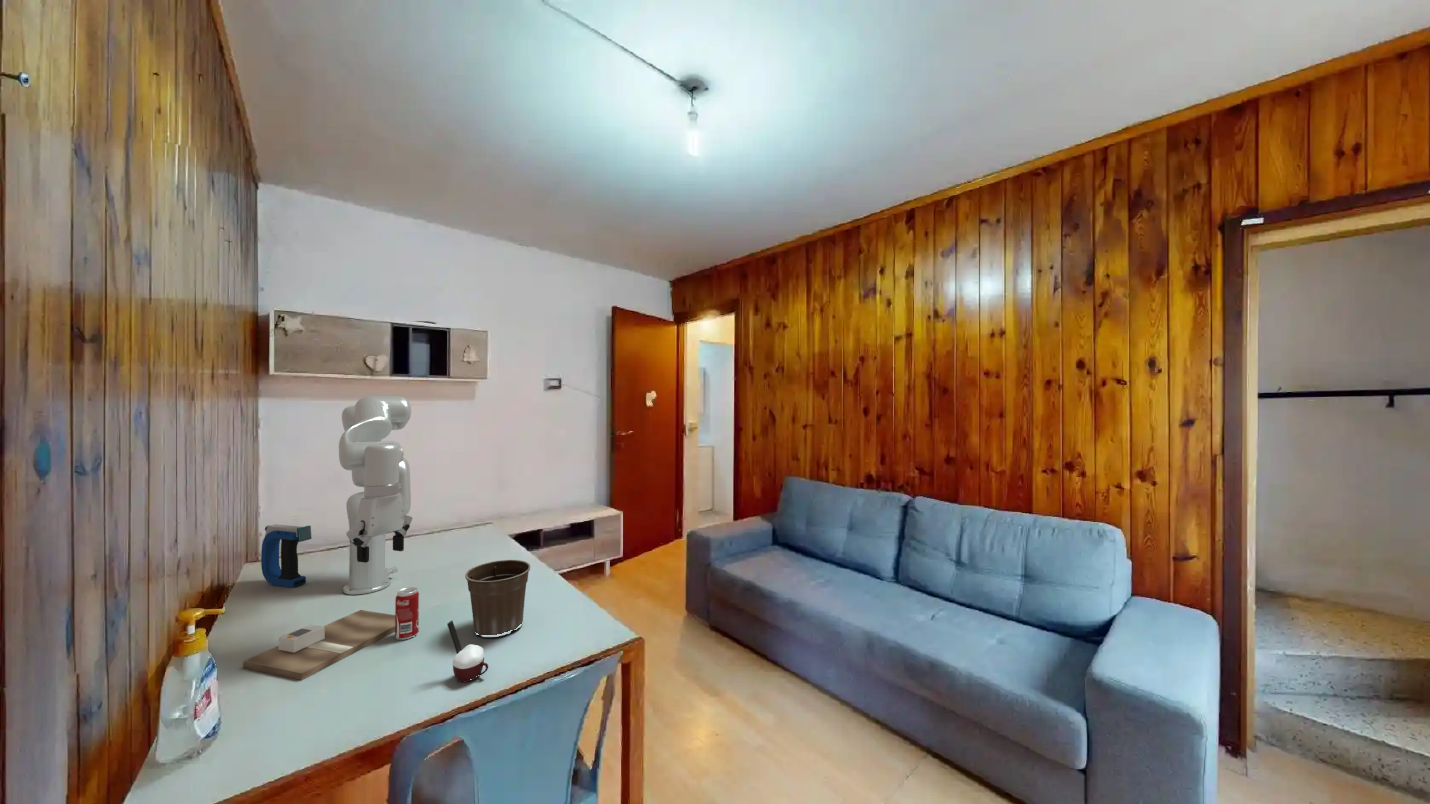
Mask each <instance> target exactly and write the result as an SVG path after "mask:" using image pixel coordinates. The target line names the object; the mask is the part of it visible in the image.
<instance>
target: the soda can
mask: <svg viewBox="0 0 1430 804" xmlns="http://www.w3.org/2000/svg"><path fill="white" fill-rule="evenodd" d="M394 601H395V603H394V605H395V606H394V608H395V610H394V611H395V612H394V615H395V632H394V638H395V639H396V640H397V641H407V640H406V639H408V640H410V639H409V638H411V637H413V638H415V637H416V636H418V634H419V632H420V631H419V630H420V629H419V628H420V626H419V625H420V624H419V623H420V622H419V621H420V613H419V612H420V611H419V609H420V593H419V590H418V588H417V587H406V588H401V589H399V590H397V592H396V595H395V600H394ZM415 635H416V636H415ZM414 636H415V637H414ZM411 639H412V638H411Z"/></svg>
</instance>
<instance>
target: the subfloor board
mask: <svg viewBox="0 0 1430 804" xmlns="http://www.w3.org/2000/svg"><path fill="white" fill-rule="evenodd" d="M323 626H324V627H325V639H322V640H320V641H318V642H316V643H314V644H312V645H310V646H307V647H305V648H303V649H301V650H299V651H297V652H294V653H293V652H288V651H283V650H278V646H275V647H273V648H271V649H268V650H266V651H264V652H263V651H262V652H261V653H259V654H257V655H254V656H253V657H250V658H248V659H246V660H243V661H242V664H243V665H242V668H243V669H248V670H252V671H256V670H257V671H256V672H262V673H266V674H270V675H276V676H281V677H285V678H289V679H294V680H300V681H303V680H305V679H308V677H310V676H312V675H315V674H316V673H318V672H321V671H322V670H324V669H326V668H328V667H330V666H332V665H334V664H336V663H338V662H339V660H340V661H341V660H343V659H345V658H347V657H349V656H350V655H353V654H355V653H358V652H359V651H361V650H363V649H364V648H366V647H368V646H370V645H372V644H374V643H376V642H378V641H380V640H381V639H383V638H385V637H388V636H390V635H391V634H393V633H395V614H390V613H383V612H376V611H371V610H363V609H360V610H357V611H354V612H353V613H350V614H348V615H346V616H344V617H341V618H339V619H337V620H334V621H332V622H330V623H328V624H326V625H323ZM387 635H388V636H387Z"/></svg>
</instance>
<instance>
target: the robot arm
mask: <svg viewBox="0 0 1430 804" xmlns="http://www.w3.org/2000/svg"><path fill="white" fill-rule="evenodd" d="M411 414H412V407H411V404H410V401H409V400H408V399H407V398H406V397H404V396H399V395H367V396H363V397H361V398H360V399H358V400H357V402H356V403H355V405H351V406H347V407H344V409H343V410H342V412H341V423H342V426H343V429H344V432H343V433H342V435H341V436H340V439H339V441H338V459H339V465H340V466H341V467H342V468H343V469H344V470H346V471H351V478H352V483H353V484H354V486H356V487H359V488H363V491H359V492H356V493H354V494H352V495H350V496H349V497H348V498H347V500H346V503H345V504H346V507H345V508H346V515H347V519H348V531H346V533H345V535H346V537H347V538H348V539H349V547H348V548H349V553H348V554H349V559H348V560H349V561H348V562H349V564H348V567H349V568H348V574H349V575H348V580H349V581H348V583H347V584H345V585H344V587H343V588H342V592H343V593H344V594H346V595H352V596H353V595H365V594H371V593H374V592H375V593H376V592H378V591H381V590H383V589H385V588H387V587H388V586H390V585H391V579H390V578H389V576H391V575H393V574H395V573H397V572H398V570H399V569H398V567H397V566H394V567H390V568H388V567H386V535H387V534H391V533H393V534H394V535H392V550H393V551H395V552H403V551H404V549H405V536H406V535H407V531H408V530H409V529H410V527H411V523H412V521H413V516H411V515H408V514H410V511H411V505H412V503H411V501H412V499H411V498H412V497H411V496H412V494H411V471H410V470H411V469H410V464H409V461H408V460H407V459H406V458H405V457H404V455H405V453H404V448H403V446H402V445H401V443H399V442H397V441H394V440H393V441H392V440H391V441H390V440H388V441H386V440H385V441H382V440H383V439H385V438H387V437H388V436H389V435H390V434H391V432H392V431H398V430H402V429H404V428H405V427H406V425H407V424H408V423H409V421H410V419H411Z"/></svg>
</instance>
